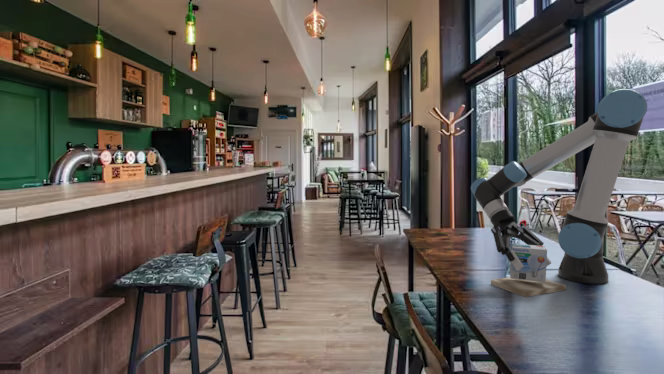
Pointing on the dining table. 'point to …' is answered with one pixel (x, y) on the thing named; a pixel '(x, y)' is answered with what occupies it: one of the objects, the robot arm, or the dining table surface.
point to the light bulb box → (530, 262)
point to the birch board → (528, 286)
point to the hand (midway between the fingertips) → (534, 267)
